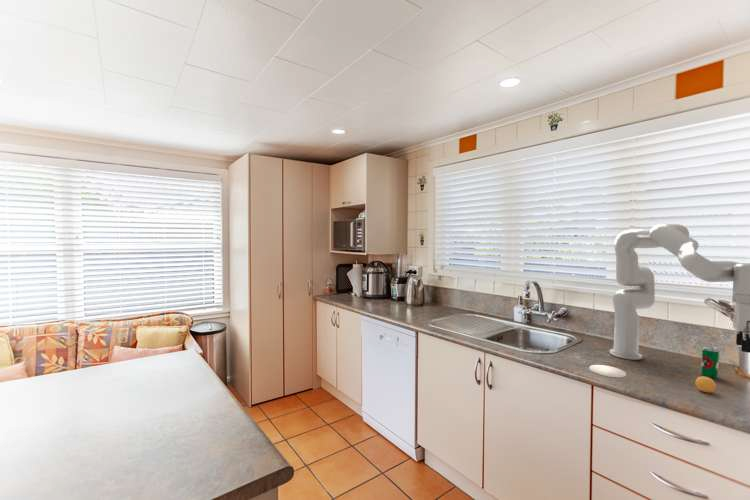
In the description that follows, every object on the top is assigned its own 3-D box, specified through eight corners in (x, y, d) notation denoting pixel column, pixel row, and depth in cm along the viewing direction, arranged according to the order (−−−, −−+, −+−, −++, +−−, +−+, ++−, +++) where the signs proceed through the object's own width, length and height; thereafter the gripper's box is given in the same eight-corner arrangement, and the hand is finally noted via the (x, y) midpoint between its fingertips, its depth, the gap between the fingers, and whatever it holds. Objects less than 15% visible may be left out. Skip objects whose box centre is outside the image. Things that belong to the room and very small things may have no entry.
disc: (591, 362, 155) (591, 362, 155) (627, 370, 146) (627, 369, 146) (587, 372, 144) (587, 371, 144) (625, 380, 136) (625, 379, 136)
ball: (694, 386, 131) (695, 372, 130) (714, 391, 127) (715, 376, 127) (695, 392, 126) (696, 377, 126) (716, 396, 123) (717, 381, 123)
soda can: (719, 379, 137) (721, 350, 136) (702, 377, 140) (703, 347, 139) (715, 375, 141) (717, 346, 141) (699, 372, 144) (700, 344, 143)
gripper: (728, 294, 128) (725, 340, 129) (737, 301, 115) (734, 353, 115) (757, 296, 123) (755, 344, 124) (771, 304, 110) (767, 358, 111)
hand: (745, 348), depth 120 cm, fingers open, 8 cm apart
